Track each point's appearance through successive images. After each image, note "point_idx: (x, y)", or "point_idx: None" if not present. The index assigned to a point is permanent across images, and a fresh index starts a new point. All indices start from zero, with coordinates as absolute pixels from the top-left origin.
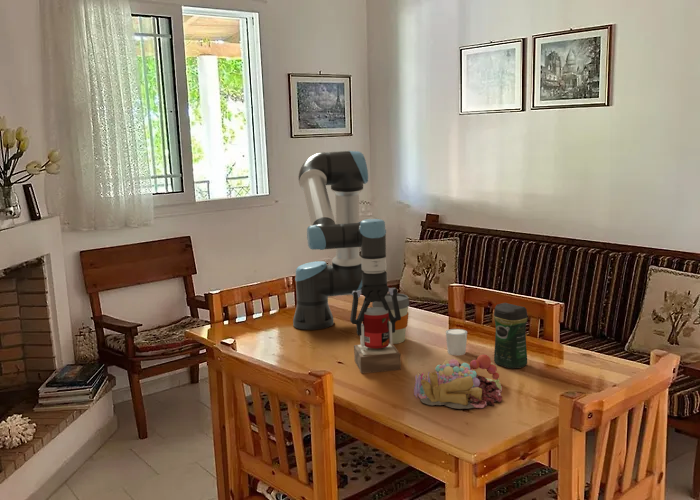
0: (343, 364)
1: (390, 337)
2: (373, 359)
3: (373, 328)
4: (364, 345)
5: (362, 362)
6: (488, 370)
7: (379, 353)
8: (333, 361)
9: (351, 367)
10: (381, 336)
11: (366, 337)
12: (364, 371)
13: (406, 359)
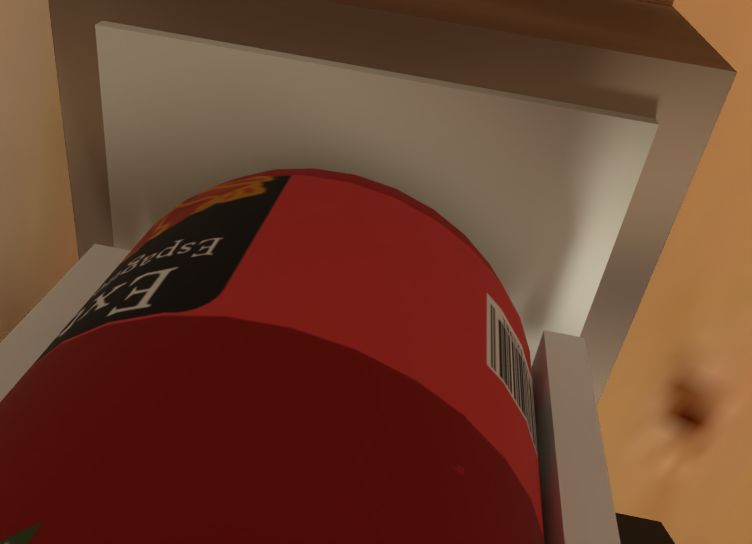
0: (690, 355)
1: (63, 313)
2: (508, 20)
3: (386, 476)
4: (545, 341)
5: (687, 39)
6: None
7: (379, 73)
8: (729, 457)
9: (665, 247)
10: (236, 265)
11: (526, 414)
12: (633, 3)
13: (43, 215)
